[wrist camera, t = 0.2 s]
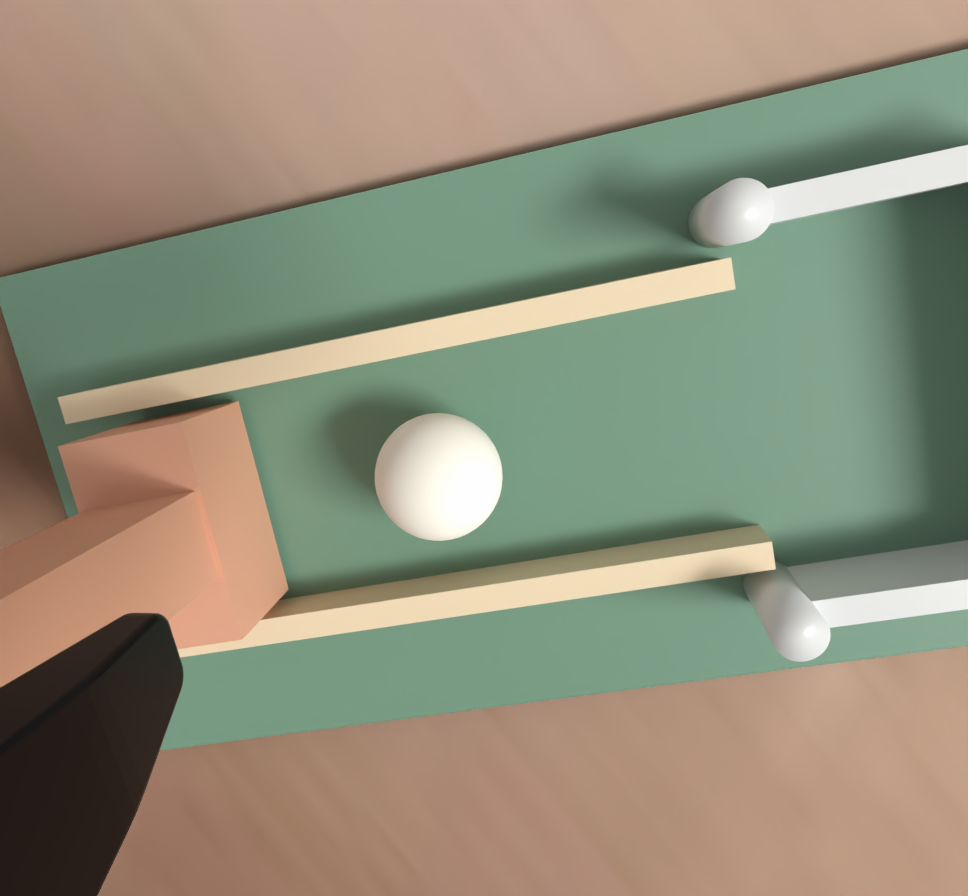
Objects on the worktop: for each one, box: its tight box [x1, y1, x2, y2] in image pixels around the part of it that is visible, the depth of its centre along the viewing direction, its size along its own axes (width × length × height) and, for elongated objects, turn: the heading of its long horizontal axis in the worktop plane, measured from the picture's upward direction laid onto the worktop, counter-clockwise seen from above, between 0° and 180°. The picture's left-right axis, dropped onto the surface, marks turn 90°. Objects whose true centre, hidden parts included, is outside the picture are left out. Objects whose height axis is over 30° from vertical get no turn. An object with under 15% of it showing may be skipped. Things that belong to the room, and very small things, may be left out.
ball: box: [375, 413, 503, 541], centre depth 22 cm, size 4×4×4 cm
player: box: [0, 401, 288, 687], centre depth 18 cm, size 6×4×14 cm, turn 12°
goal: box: [688, 145, 968, 662], centre depth 20 cm, size 12×8×4 cm
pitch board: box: [0, 49, 968, 750], centre depth 23 cm, size 16×30×2 cm, turn 102°
